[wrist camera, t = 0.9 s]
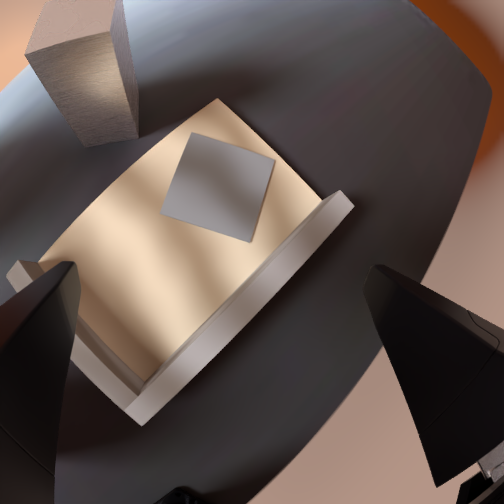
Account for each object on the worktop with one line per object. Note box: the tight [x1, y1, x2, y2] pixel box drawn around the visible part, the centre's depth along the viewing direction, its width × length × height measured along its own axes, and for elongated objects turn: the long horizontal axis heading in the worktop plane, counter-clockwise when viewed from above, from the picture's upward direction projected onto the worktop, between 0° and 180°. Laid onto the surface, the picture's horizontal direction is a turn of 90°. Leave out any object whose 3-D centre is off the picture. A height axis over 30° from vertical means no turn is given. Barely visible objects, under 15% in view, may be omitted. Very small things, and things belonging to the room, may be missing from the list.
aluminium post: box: [25, 0, 139, 148], centre depth 15 cm, size 4×4×12 cm
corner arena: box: [6, 98, 354, 426], centre depth 20 cm, size 20×13×4 cm, turn 135°
